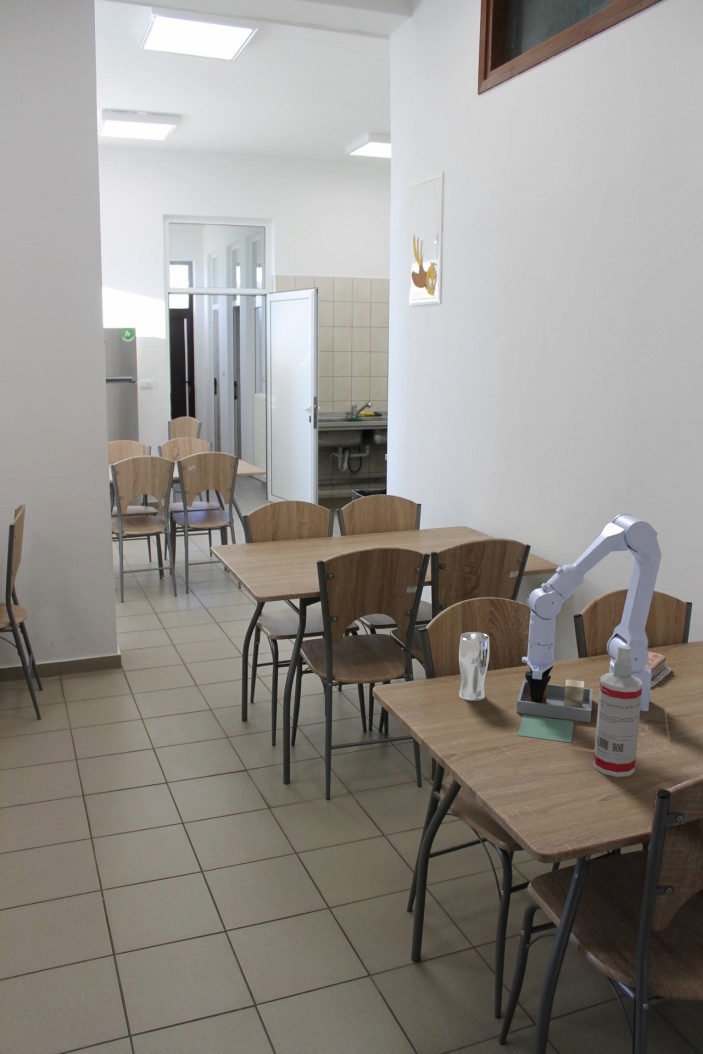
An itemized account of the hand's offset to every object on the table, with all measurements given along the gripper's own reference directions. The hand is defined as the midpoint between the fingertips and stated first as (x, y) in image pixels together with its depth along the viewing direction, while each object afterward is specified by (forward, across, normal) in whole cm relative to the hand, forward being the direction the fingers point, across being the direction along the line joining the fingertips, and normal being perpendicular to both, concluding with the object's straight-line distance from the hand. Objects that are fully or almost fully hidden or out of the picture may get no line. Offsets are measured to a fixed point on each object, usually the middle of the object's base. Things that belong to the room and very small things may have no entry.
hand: (537, 698), depth 203 cm
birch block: (+1, 0, +8) cm, 8 cm away
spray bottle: (+2, +26, +17) cm, 31 cm away
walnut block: (+1, 0, 0) cm, 1 cm away
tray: (+2, 0, +4) cm, 4 cm away
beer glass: (+2, 0, -15) cm, 15 cm away
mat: (+2, +13, +3) cm, 13 cm away
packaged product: (+3, -28, +24) cm, 36 cm away
